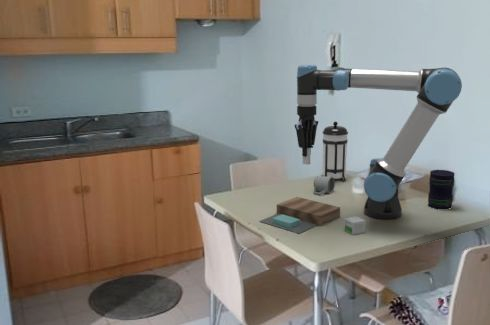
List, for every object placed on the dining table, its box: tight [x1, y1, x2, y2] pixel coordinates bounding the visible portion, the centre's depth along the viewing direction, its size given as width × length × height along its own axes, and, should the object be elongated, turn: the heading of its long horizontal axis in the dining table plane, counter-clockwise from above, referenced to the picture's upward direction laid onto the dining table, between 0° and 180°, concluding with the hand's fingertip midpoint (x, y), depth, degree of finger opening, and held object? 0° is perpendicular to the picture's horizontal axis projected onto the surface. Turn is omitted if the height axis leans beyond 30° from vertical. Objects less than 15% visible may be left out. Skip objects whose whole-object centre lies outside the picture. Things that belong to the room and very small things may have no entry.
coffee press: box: [322, 121, 349, 183], centre depth 259 cm, size 17×16×30 cm
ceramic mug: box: [313, 175, 336, 196], centre depth 240 cm, size 11×8×8 cm
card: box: [273, 214, 300, 228], centre depth 200 cm, size 9×6×2 cm, turn 46°
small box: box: [343, 215, 366, 236], centre depth 192 cm, size 6×6×5 cm
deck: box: [276, 196, 341, 227], centre depth 210 cm, size 22×14×4 cm, turn 47°
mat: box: [258, 213, 319, 235], centre depth 201 cm, size 20×12×1 cm, turn 47°
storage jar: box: [427, 169, 455, 210], centre depth 217 cm, size 10×10×15 cm
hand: (306, 163), depth 204 cm, fingers closed
